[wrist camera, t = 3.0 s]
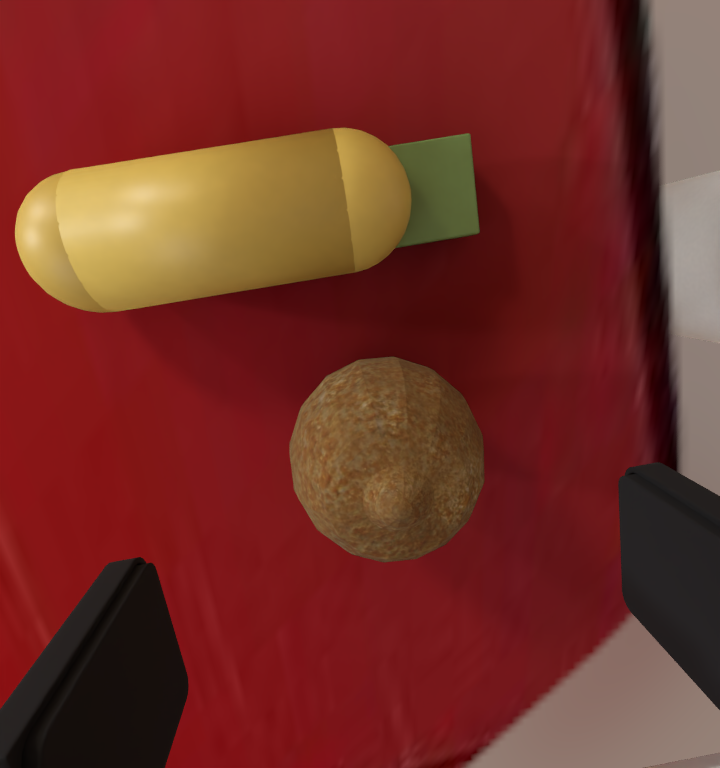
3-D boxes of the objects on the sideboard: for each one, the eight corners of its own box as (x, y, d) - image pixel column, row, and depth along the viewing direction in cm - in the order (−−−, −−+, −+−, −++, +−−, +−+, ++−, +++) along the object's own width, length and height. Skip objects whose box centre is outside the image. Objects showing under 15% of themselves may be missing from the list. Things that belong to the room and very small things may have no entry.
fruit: (277, 365, 19) (239, 431, 11) (429, 321, 19) (497, 356, 11) (323, 504, 21) (318, 646, 13) (465, 463, 21) (546, 581, 13)
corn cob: (455, 128, 17) (495, 82, 13) (467, 253, 19) (508, 248, 14) (48, 193, 17) (-46, 168, 13) (84, 316, 18) (8, 330, 14)
